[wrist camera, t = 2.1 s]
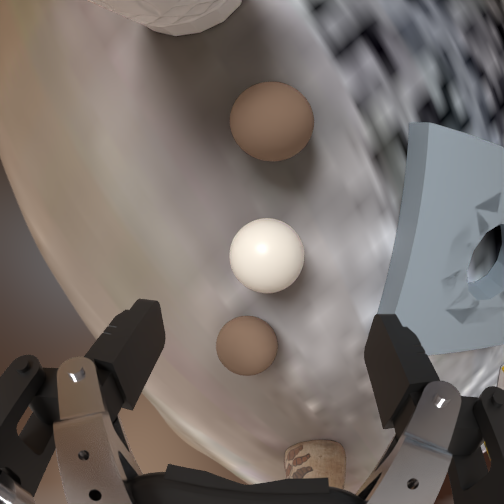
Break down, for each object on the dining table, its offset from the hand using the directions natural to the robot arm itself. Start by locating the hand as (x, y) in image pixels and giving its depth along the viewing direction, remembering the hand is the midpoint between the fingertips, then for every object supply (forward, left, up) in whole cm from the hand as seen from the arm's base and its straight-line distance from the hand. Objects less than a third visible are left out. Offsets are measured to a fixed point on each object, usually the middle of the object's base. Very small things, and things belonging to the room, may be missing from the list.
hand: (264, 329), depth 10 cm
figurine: (+26, +7, -8) cm, 28 cm away
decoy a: (-7, 0, -6) cm, 9 cm away
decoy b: (+6, -1, -6) cm, 9 cm away
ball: (0, 0, -6) cm, 6 cm away
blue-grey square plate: (-1, +15, -8) cm, 17 cm away
